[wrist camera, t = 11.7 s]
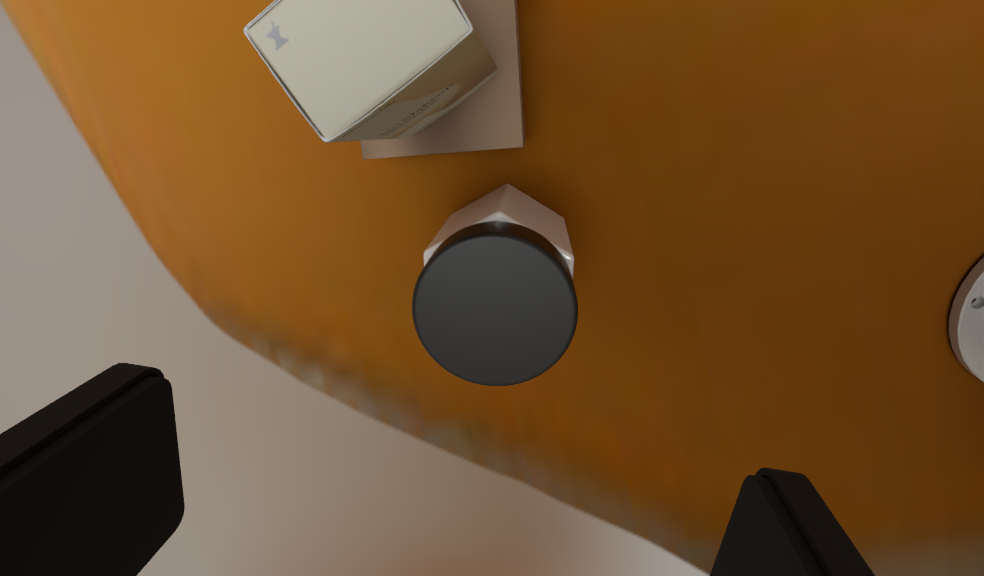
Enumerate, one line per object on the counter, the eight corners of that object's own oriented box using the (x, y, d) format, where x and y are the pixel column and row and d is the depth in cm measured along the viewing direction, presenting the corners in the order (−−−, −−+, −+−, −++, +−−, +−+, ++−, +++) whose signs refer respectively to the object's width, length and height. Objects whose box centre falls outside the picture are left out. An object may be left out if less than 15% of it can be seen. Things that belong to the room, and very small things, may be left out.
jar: (422, 262, 37) (374, 334, 26) (479, 163, 35) (454, 194, 23) (529, 324, 38) (527, 419, 27) (592, 232, 36) (620, 295, 24)
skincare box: (409, 141, 29) (317, 154, 17) (361, 70, 28) (229, 34, 16) (507, 69, 27) (479, 30, 15) (459, -9, 26) (392, -111, 15)
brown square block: (516, -18, 31) (511, -43, 25) (525, 138, 34) (523, 146, 28) (369, -2, 32) (334, -23, 26) (390, 149, 35) (363, 159, 29)
